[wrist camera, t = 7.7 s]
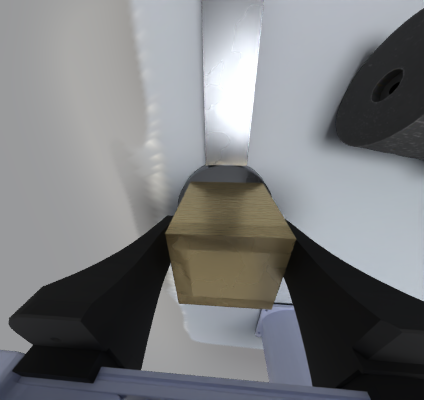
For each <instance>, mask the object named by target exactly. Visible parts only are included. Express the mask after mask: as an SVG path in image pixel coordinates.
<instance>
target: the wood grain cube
mask: <svg viewBox="0 0 424 400" xmlns="http://www.w3.org/2000/svg"><path fill="white" fill-rule="evenodd" d="M165 235H166V240H167V245H168V251H169V256H170V261H171V266H172V271H173V276H174V281H175V286H176V291H177V296H178V302H179V304H194V305H209V306H224V307H239V308H254V309H269V310H272V307H273V304H274V301H275V298H276V296H277V293H278V290H279V287H280V284H281V281H282V278H283V276H284V273H285V270H286V267H287V264H288V261H289V258H290V256H291V253H292V250H293V247H294V244H295V241H296V237H295V236H294V234H293V232H292V231H291V229H290V227H289V226H288V224H287V222H286V221H285V219H284V217H283V216H282V214H281V212H280V211H279V209H278V207H277V206H276V204H275V202H274V201H273V199H272V197H271V196H270V194H269V192H268V191H267V189H266V187H265V186H264V184H263V183H240V182H192V181H191V182H190V184H189V186H188V188H187V190H186V192H185V194H184V196H183V198H182V200H181V202H180V204H179V206H178V208H177V211H176V213H175V215H174V217H173V219H172V221H171V223H170V225H169V227H168V229H167V231H166V233H165Z"/></svg>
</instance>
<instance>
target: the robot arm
mask: <svg viewBox="0 0 424 400" xmlns="http://www.w3.org/2000/svg"><path fill="white" fill-rule="evenodd" d="M173 217H174V216H166V217H165V218H164V219H163V220H161V221H160V222H159V223H158V224H157V225H155V226H154V227H153V228H152V229H150V230H149V231H148V232H147V233H145V234H144V235H143V236H141V237H140V238H138V239H137V240H136V241H134V242H133V243H132V244H130V245H129V246H127V247H125V248H124V249H122V250H121V251H119V252H117V253H115V254H113V255H112V256H110V257H108V258H106V259H104V260H102V261H101V262H99V263H97V264H95V265H92V266H90V267H88V268H86V269H84V270H82V271H80V272H77V273H75V274H73V275H71V276H68V277H66V278H63V279H61V280H58V281H56V282H53V283H51V284H48V285H46V286H43V287H42V288H41V289H40V290H39V291H37V292H36V293H35V294H34V296H32V297H31V298H30V299H29V300H28V301H27V302H26V303H25V304H24V305H23V306H22V307H21V308H19V309H18V310H17V311H16V312H15V313H14V314H13V315H12V316H11V317H10V318H9V325H10V327H11V329H13V330H14V331H15V332H16V333H17V334H19V335H20V336H22V337H23V338H24V339H26V340H27V341H28V342H30V343H31V344H33V346H32V347H31V348H30V350H29V351H28V352H27V353H26V354H24V353H21V352H17V351H7V350H0V400H424V301H422V300H419V299H417V298H415V297H412V296H410V295H408V294H406V293H404V292H401V291H399V290H397V289H395V288H393V287H391V286H389V285H387V284H385V283H383V282H381V281H379V280H377V279H375V278H373V277H371V276H369V275H367V274H365V273H364V272H362V271H360V270H358V269H356V268H354V267H353V266H351V265H349V264H348V263H346V262H344V261H343V260H341V259H339V258H338V257H336V256H335V255H333V254H331V253H330V252H328V251H327V250H326V249H324V248H323V247H321V246H320V245H318V244H317V243H316V242H314V241H313V240H312V239H310V238H309V237H308V236H306V235H305V234H304V233H302V232H301V231H300V230H299V229H297V228H296V227H295V226H294V225H292V224H291V223H290V222H289V221H287V220H286V219H285V221H286V222H287V224H288V226H289V227H290V229H291V231H292V232H293V234H294V236H295V237H296V241H295V244H294V247H293V250H292V253H291V256H290V258H289V261H288V264H287V267H286V270H285V273H284V276H283V277H284V279H285V282H286V284H287V287H288V290H289V293H290V296H291V299H292V303H293V305H280V304H273V307H272V310H269V309H262V310H261V314H260V317H259V321H258V324H257V328H256V331H255V336H257V337H262V342H263V348H264V354H265V359H266V364H267V371H268V376H269V382H270V383H269V382H258V381H248V380H237V379H226V378H215V377H205V376H195V375H184V374H173V373H162V372H152V371H141V368H142V363H143V359H144V354H145V350H146V345H147V341H148V337H149V333H150V329H151V325H152V320H153V316H154V313H155V309H156V305H157V301H158V298H159V294H160V291H161V288H162V284H163V281H164V279H165V276H166V273H167V271H168V268H169V266H170V263H171V261H170V256H169V251H168V245H167V240H166V235H165V233H166V231H167V229H168V227H169V225H170V223H171V221H172V219H173Z"/></svg>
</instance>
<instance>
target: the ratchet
mask: <svg viewBox="0 0 424 400" xmlns="http://www.w3.org/2000/svg"><path fill="white" fill-rule="evenodd" d="M263 6H264V0H202V31H203V70H204V109H205V148H206V165H204V166H202V167H201V168H199V169H198V170H196V171H195V172H194V173H193V174H192V175H191V176H190V177H189V179H188V180H187V182H186V184H185V186H184V187H183V189H182V191H181V193H180V196H179V200H178V206H179V204H180V202H181V200H182V198H183V196H184V194H185V192H186V190H187V188H188V186H189V184H190V182H191V181H192V182H240V183H263V184H264V186H265V187H266V189H267V191H268V192H269V194H270V196H271V193H270V191H269V189H268V187H267V186H266V184H265V183H264V181H263V179H262V178H261V177H260V175H259V174H258V173H257V172H256V171H254V170H253V169H252V168H250V167H248V166H247V158H248V149H249V139H250V130H251V120H252V111H253V101H254V92H255V82H256V73H257V63H258V54H259V44H260V35H261V25H262V15H263ZM271 197H272V196H271Z"/></svg>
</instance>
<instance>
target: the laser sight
mask: <svg viewBox="0 0 424 400" xmlns="http://www.w3.org/2000/svg"><path fill="white" fill-rule="evenodd" d="M336 130H337V134H338V137H339V138H340V140H341V141H342V142H343V143H345V144H347V145H349V146H355V147H361V148H367V149H371V150H375V151H381V152H385V153H392V154H396V155H400V156H405V157H410V158H418V159H422V160H424V8H423V9H422V10H420V11H419V12H418V13H416V14H415V15H413V16H412V17H411V18H410V19H408V20H407V21H406V22H405V23H403V24H402V25H401V26H400V27H399V28H398V29H396V30H395V31H394V32H393V33H392V34H391V35H390V36H389V37H388V38H387V39H386V40H385V41H384V42H383V43H382V44H381V45H380V46H379V47H378V48H377V49H376V51H375V52H374V53H373V54H372V55H371V56H370V58H369V59H368V60H367V61H366V63H365V64H364V65H363V66H362V68H361V69H360V71H359V72H358V73H357V75H356V76H355V78H354V79H353V81H352V83H351V84H350V86H349V88H348V90H347V92H346V94H345V96H344V98H343V100H342V102H341V105H340V108H339V111H338V115H337V120H336Z"/></svg>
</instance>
